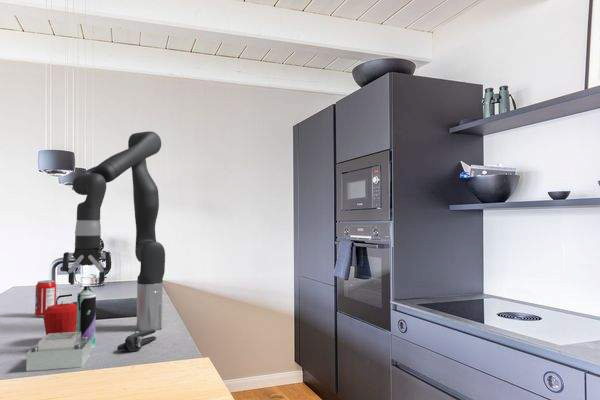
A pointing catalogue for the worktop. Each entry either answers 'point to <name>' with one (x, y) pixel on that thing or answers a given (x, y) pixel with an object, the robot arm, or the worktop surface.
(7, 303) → the worktop surface
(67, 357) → the grey square holder
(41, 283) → the soda can
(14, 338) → the worktop surface
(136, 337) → the can opener
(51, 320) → the apple
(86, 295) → the spray can
